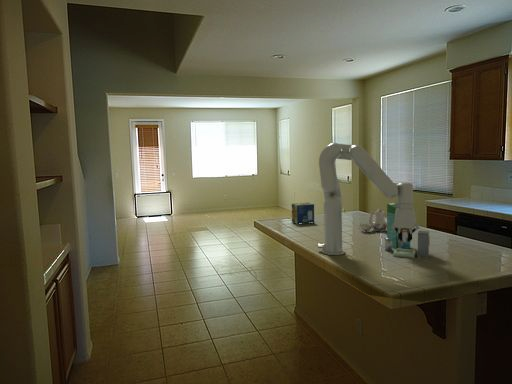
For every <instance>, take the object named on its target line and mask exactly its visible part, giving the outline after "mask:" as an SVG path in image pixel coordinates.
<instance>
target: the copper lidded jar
mask: <svg viewBox="0 0 512 384" xmlns="http://www.w3.org/2000/svg"><path fill="white" fill-rule="evenodd" d="M401 242H403V243H409V228H401Z"/></svg>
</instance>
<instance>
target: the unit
mask: <svg viewBox="0 0 512 384" xmlns="http://www.w3.org/2000/svg"><path fill="white" fill-rule="evenodd" d="M430 246H431V236H430V231H429V230H417V258H422V259H423V258H424V259H429V256H430Z"/></svg>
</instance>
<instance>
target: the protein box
mask: <svg viewBox="0 0 512 384" xmlns="http://www.w3.org/2000/svg"><path fill="white" fill-rule="evenodd" d="M292 222H294V223H296V224H295V225H297V224H299V223H309V222H314V223H315V204H314V203H311V202H302V203H301V202H298V203H297V202H296V203H291V223H292ZM294 223H293V224H294ZM299 225H300V224H299Z"/></svg>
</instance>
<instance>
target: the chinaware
mask: <svg viewBox="0 0 512 384" xmlns="http://www.w3.org/2000/svg"><path fill="white" fill-rule="evenodd" d="M374 214H375V216H373V212H372V211H369V219H368V223H359V225H358V229H359V230H361V231H362V232H364V231H365V232H364V233H368V232H370V231H371V229H373V230H374V232H376V231H385V232H387V221H386V220H385V216H387V213H386V212H385V211H383V210H382V209H381V207H379V208H378V209H377V210H376V211H375V210H374ZM373 217H375V219H374V221H373ZM367 231H368V232H367Z"/></svg>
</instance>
